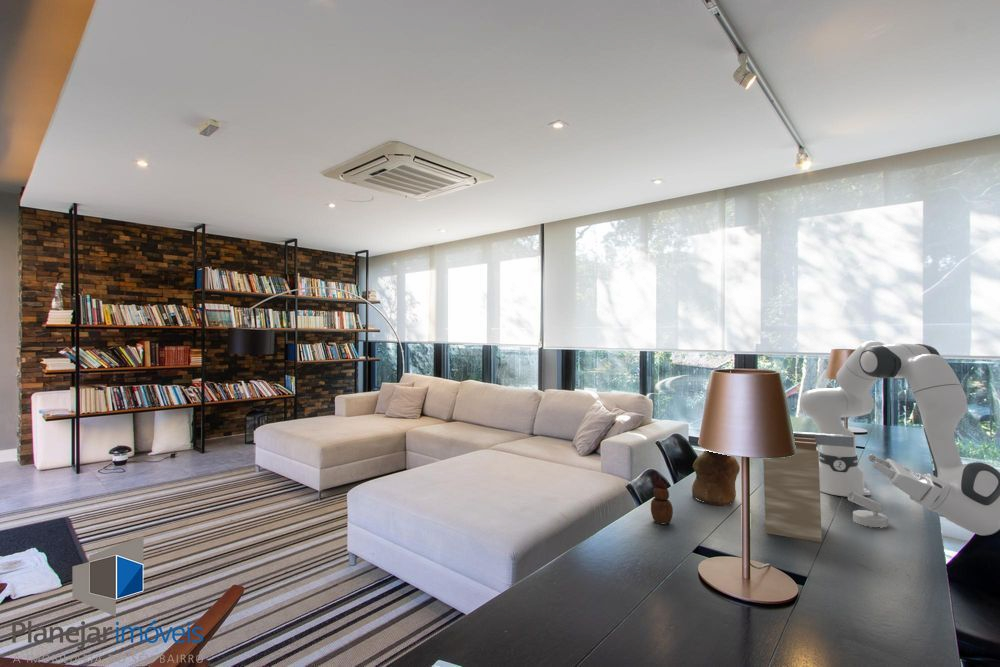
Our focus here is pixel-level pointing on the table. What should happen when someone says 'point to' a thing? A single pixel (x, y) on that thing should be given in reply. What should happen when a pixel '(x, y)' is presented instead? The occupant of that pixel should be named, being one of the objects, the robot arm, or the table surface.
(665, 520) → the wooden figurine
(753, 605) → the table surface
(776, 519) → the stand
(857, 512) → the wall hook
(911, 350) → the robot arm
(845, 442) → the bracket
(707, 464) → the ceramic vessel
